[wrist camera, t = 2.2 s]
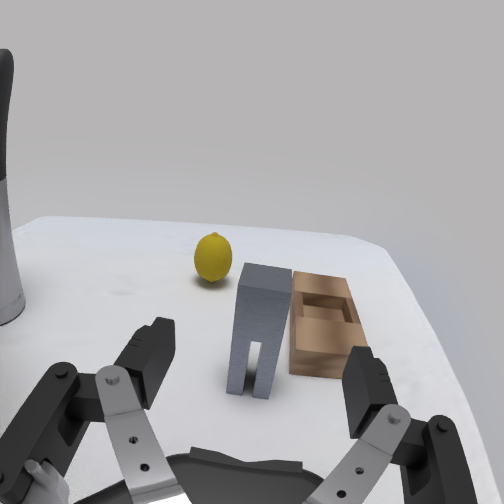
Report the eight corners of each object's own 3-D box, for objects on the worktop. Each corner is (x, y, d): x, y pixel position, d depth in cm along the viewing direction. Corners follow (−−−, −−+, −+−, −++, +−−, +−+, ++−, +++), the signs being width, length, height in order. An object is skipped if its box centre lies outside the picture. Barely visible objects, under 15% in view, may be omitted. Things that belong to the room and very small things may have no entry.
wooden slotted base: (289, 373, 31) (296, 349, 29) (290, 291, 47) (293, 270, 46) (360, 379, 30) (371, 356, 29) (339, 298, 47) (345, 278, 45)
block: (226, 392, 27) (237, 284, 23) (232, 365, 31) (244, 262, 26) (268, 399, 27) (292, 292, 22) (270, 371, 31) (291, 269, 26)
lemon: (217, 271, 50) (221, 224, 47) (236, 286, 47) (242, 236, 44) (187, 277, 47) (188, 228, 44) (204, 295, 43) (208, 242, 40)
